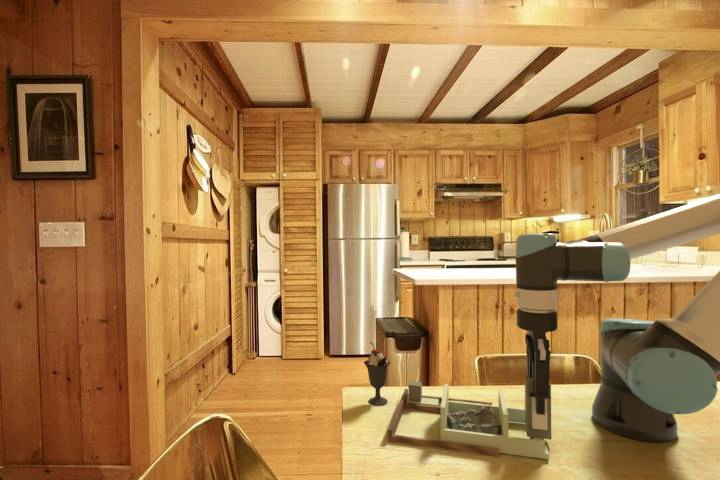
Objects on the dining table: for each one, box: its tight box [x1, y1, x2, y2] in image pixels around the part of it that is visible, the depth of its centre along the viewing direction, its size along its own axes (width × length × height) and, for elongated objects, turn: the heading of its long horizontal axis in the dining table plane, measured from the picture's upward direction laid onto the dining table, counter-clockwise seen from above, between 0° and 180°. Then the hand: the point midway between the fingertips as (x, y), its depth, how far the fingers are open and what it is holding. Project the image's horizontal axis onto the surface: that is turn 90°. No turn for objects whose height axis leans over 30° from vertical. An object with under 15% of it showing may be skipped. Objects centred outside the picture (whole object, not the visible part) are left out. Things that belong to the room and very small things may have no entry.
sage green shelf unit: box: [440, 376, 552, 460], centre depth 79 cm, size 21×14×12 cm, turn 74°
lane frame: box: [387, 388, 500, 458], centre depth 84 cm, size 21×21×2 cm
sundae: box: [363, 341, 391, 407], centre depth 96 cm, size 7×7×15 cm
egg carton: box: [447, 405, 501, 435], centre depth 80 cm, size 11×8×4 cm
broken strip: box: [406, 380, 480, 406], centre depth 92 cm, size 18×3×5 cm, turn 74°
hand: (538, 423), depth 77 cm, fingers closed on sage green shelf unit, 3 cm apart
